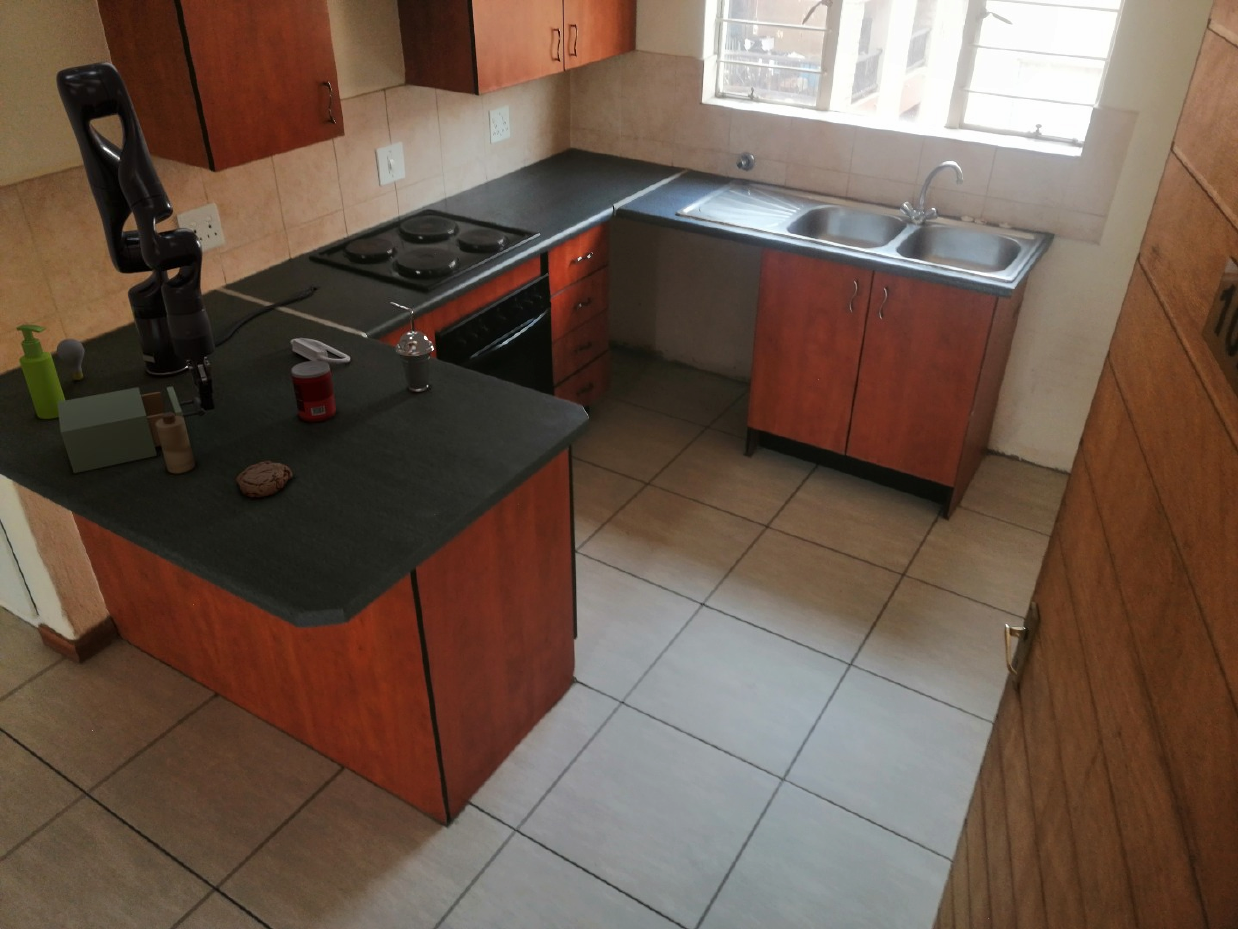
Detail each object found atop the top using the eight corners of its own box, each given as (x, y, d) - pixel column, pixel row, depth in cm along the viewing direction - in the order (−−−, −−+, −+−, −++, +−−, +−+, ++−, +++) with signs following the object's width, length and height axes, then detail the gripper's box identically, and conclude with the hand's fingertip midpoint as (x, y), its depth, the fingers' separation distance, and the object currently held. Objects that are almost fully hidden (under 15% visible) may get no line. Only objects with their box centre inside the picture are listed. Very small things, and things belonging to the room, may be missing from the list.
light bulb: (97, 376, 219) (86, 336, 214) (79, 386, 214) (66, 345, 209) (79, 373, 220) (67, 333, 215) (60, 382, 216) (47, 342, 211)
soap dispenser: (59, 420, 199) (31, 332, 189) (31, 417, 200) (1, 329, 191) (78, 408, 204) (52, 322, 194) (50, 405, 205) (23, 319, 196)
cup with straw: (412, 399, 210) (402, 314, 200) (391, 386, 216) (381, 303, 206) (444, 389, 215) (437, 306, 205) (423, 376, 221) (415, 295, 211)
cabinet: (148, 425, 198) (138, 387, 193) (157, 455, 187) (146, 415, 182) (69, 441, 191) (57, 401, 187) (74, 473, 180) (60, 432, 176)
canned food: (344, 410, 205) (337, 364, 200) (319, 425, 199) (311, 378, 193) (316, 403, 208) (308, 357, 202) (291, 418, 201) (282, 371, 196)
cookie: (240, 502, 172) (237, 488, 170) (236, 475, 180) (233, 462, 179) (296, 492, 175) (294, 478, 174) (290, 466, 184) (287, 452, 182)
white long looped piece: (355, 368, 228) (357, 353, 227) (326, 370, 222) (327, 354, 221) (312, 346, 240) (313, 332, 239) (282, 347, 234) (283, 332, 233)
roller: (184, 458, 186) (171, 406, 180) (200, 465, 183) (187, 412, 178) (161, 469, 182) (147, 416, 176) (178, 476, 180) (164, 422, 174)
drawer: (201, 412, 201) (194, 382, 198) (212, 438, 191) (204, 407, 188) (109, 430, 194) (100, 399, 190) (115, 458, 183) (106, 426, 180)
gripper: (216, 338, 183) (233, 417, 192) (204, 316, 193) (221, 393, 202) (175, 345, 180) (194, 425, 188) (165, 323, 190) (184, 400, 198)
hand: (208, 408), depth 195 cm, fingers closed
